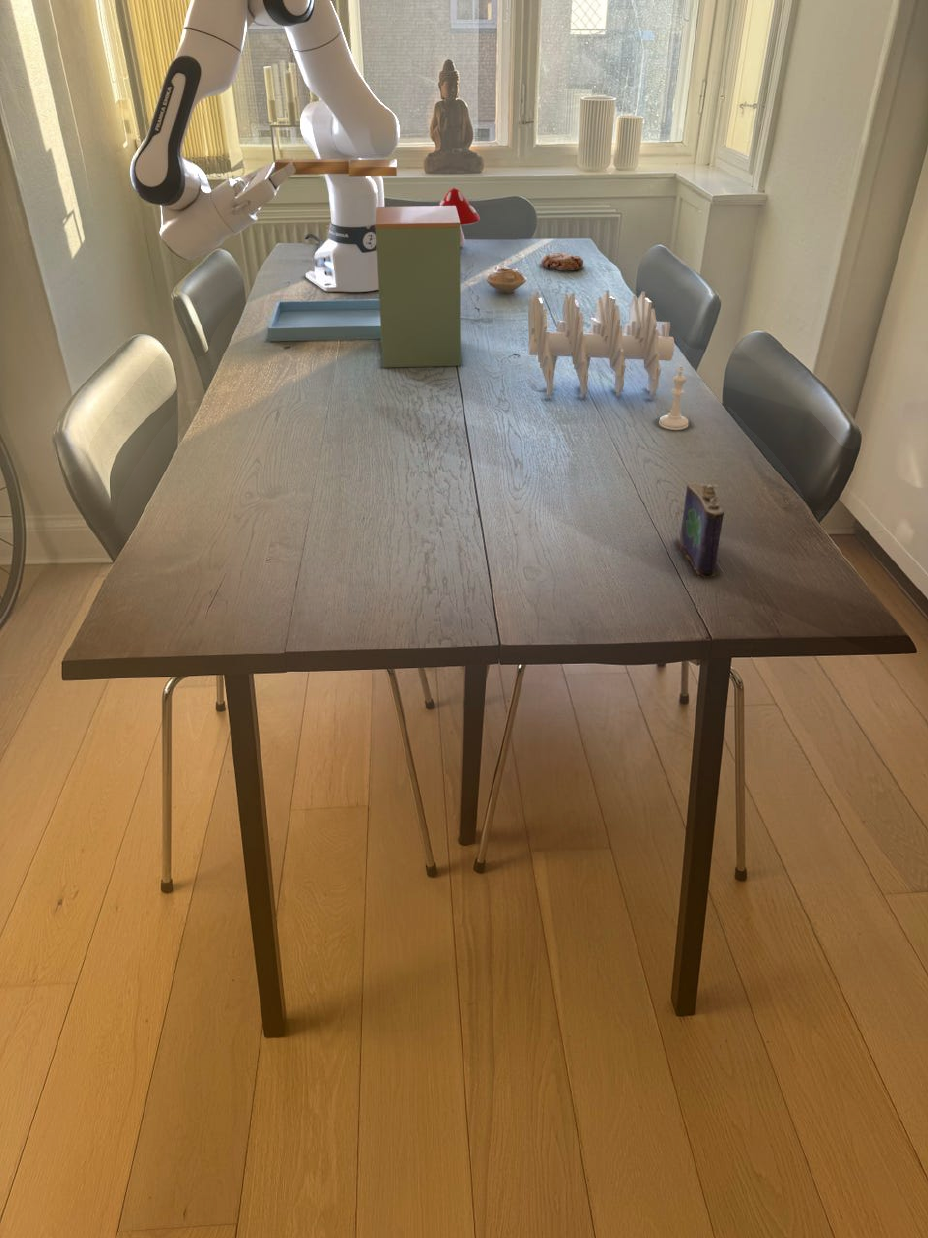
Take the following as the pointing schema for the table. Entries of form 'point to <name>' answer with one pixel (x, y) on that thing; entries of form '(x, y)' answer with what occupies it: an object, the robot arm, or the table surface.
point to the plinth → (419, 285)
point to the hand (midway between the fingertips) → (295, 164)
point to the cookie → (562, 261)
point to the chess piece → (675, 407)
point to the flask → (701, 527)
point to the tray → (325, 320)
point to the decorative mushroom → (460, 209)
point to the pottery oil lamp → (505, 279)
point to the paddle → (340, 167)
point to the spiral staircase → (600, 339)
